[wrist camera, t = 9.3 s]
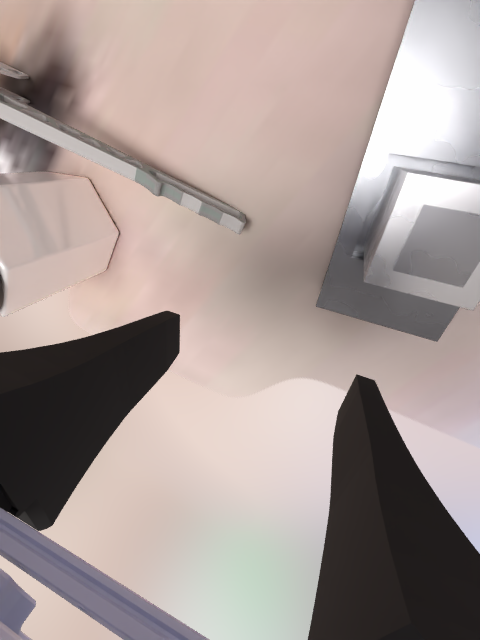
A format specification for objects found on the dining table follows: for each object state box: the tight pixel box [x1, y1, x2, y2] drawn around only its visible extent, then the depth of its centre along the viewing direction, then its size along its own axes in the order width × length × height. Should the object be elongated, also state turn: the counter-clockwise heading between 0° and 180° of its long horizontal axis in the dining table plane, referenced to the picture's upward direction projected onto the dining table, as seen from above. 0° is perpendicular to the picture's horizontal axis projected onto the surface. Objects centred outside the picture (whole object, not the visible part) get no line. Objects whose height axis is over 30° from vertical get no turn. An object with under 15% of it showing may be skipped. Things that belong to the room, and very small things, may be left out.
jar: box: [0, 171, 119, 316], centre depth 20 cm, size 9×8×12 cm
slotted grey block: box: [364, 166, 480, 310], centre depth 12 cm, size 4×4×6 cm
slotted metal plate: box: [316, 0, 480, 341], centre depth 12 cm, size 7×22×2 cm, turn 172°
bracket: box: [0, 62, 246, 234], centre depth 19 cm, size 3×21×10 cm, turn 64°
